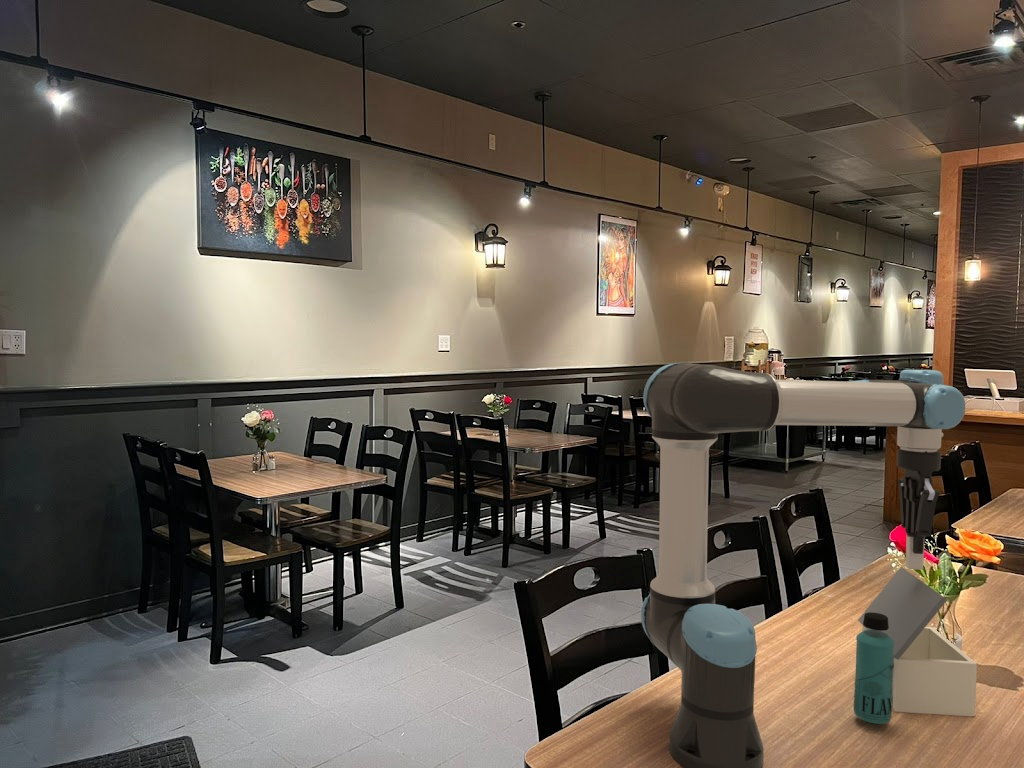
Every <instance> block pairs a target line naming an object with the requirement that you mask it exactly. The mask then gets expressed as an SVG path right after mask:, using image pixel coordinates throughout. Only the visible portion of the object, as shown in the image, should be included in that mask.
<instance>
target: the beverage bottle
mask: <svg viewBox="0 0 1024 768" xmlns="http://www.w3.org/2000/svg"><path fill="white" fill-rule="evenodd" d="M863 625H864V626H865V627H867V628H869V629H873V630H864V631H861V632H859V633H858V634H857V635H856V638H855V640H856V645H855V646H856V650H855V652H856V653H855V677H854V689H853V699H852V700H853V713H854V714H855V716H856V717H857V718H859V720H863V721H864V722H866V723H871V724H877V725H879V724H881V725H884V724H887V723H889V722H891V719H892V717H893V716H892V714H893V708H892V705H893V693H892V690H893V689H892V686H894V685H893V678H894V677H893V676H894V675H893V674H894V672H893V671H894V670H893V667H894V666H893V665H894V641H893V640H892V638H891V637H890V636H889V635H888V634H886V633H884V632H882V631H885V630H888V629H889V625H888V617H887V616H885V615H883V614H880V613H873V612H869V613H865V615H864V621H863ZM878 630H879V631H878Z"/></svg>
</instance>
